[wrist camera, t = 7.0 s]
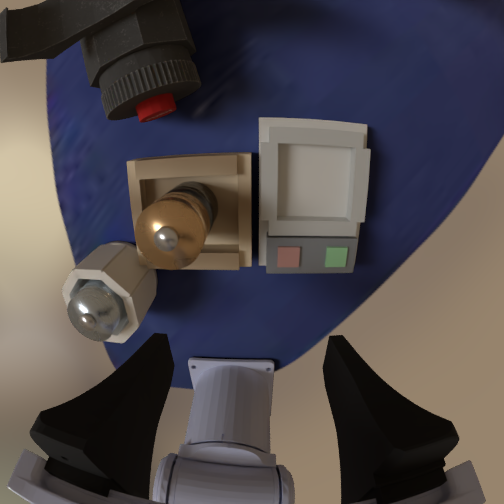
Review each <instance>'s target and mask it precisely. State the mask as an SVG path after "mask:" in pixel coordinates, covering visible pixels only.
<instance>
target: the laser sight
mask: <svg viewBox="0 0 504 504" xmlns="http://www.w3.org/2000/svg"><path fill="white" fill-rule="evenodd" d="M79 40H80V43H81V48H82V53H83V58H84V62H85V67H86V71H87V75H88V79H89V83H90V86H91V87H96V88H100V89H101V93H102V96H101V100H102V103H103V107H104V110H105V114H106V117H107V119H108V120H113V121H114V120H120V119H121V120H122V119H126V118H130V117H134V116H137V115H138V117H139V120H140V122H148V121H152V120H155V119H158V118H160V117H163V116H165V115H168V114H170V113H172V112H174V111H175V110H176V105H175V101H178V100H180V99H182V98H184V97H186V96H188V95H190V94H191V93H193V92H195V91H196V90H198V89H199V87H200V86H201V81H200V78H199V75H198V72H197V69H196V66H195V64H194V63H193V62H192V60H191V57H190V56H191V55H193V54H194V53H195V52H196V48H195V45H194V42H193V39H192V36H191V33H190V30H189V27H188V24H187V21H186V18H185V15H184V12H183V9H182V6H181V3H180V0H46V1H44V2H42V3H40V4H37V5H34V6H30V7H26V8H23V9H16V10H8V8H5V9H4V10H3V11H2V12H1V13H0V59H1V63H4V62H13V61H21V60H34V59H54V58H55V57H56V56H58V55H59V54H61V53H62V52H63V51H65V50H66V49H67V48H69V47H70V46H72V45H73V44H75V43H76V42H78V41H79Z"/></svg>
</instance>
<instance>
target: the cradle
mask: <svg viewBox="0 0 504 504" xmlns="http://www.w3.org/2000/svg"><path fill="white" fill-rule="evenodd" d="M366 146H367V125H365V124H357V123H349V122H339V121H328V120H314V119H297V118H259V265H266V273H353V268H354V265H355V258H356V251H357V244H358V237H359V229H360V222H364V221H365V212H366V203H367V192H368V181H369V167H370V151H371V149H367V148H366Z"/></svg>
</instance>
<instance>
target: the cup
mask: <svg viewBox="0 0 504 504" xmlns="http://www.w3.org/2000/svg"><path fill="white" fill-rule="evenodd" d="M90 279H95V280H102V281H103V282H104V283H105V284H106V285H107V286H108V287H110V288H111V289H112V290H113V291H114V292H115V293H116V294H118V295H119V296H120V297H121V298H122V299H123V301H124V305H125V309H126V312H125V314H124V316H123V317H122V319H121V320H120V322H119V324H118V325H117V327H116V328H115V330H114V332H113V333H112V335H111V337H110V338H109V339H107V340H105V341H109V342H116V343H124V342H125V341H126V340H127V339H128V338H129V337H130V336H131V335H132V334H133V333H134V332H135V331H136V330H137V329H138V328H139V326H140V324H141V322H142V320H143V318H144V316H145V315H146V313H147V311H148V309H149V307H150V305H151V304H152V302H153V300H154V298H155V296H156V294H157V293H156V289H157V285H158V278H157V272H156V269H148V268H147V265H140V263H139V257H138V251H137V246H135V245H133V244H131V243H128V242H124V241H112V242H109V243H107V244H105V245H100V246H99V247H98V248H96V249H95V250H94V251H93V252H92V253H91V254H89V255H88V256H87V257H86V258H85V259H84V260H83V261H81V262H80V263H79V264H78V265H77V266H76V267H75V268H74V269H73V270H72V271H71V273H70V275H69V277H68V278H67V281H66V282H65V284H64V286H63V288H62V294H63V297H64V300H65V303H66V306H67V307H68V303H69V302H70V300H71V299H72V298H73V297H74V296H75V295H76V294H77V293H78V291H79V290H80V289H81V288H82V287H83V286H84V285H85V284H86V283H87V282H88V281H89V280H90Z"/></svg>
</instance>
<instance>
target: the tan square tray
mask: <svg viewBox="0 0 504 504" xmlns="http://www.w3.org/2000/svg"><path fill="white" fill-rule="evenodd" d="M127 171H128V182H129V192H130V201H131V210H132V218H133V225H134V232H135V225H136V222H137V219H138V217H139V215H140V214H141V213H142V212H143V210H144V209H146V208H147V207H148V206H150V205H151V204H152V203H154V202H155V201H156V200H158V199H159V198H160V197H162V196H163V195H165V194H166V193H167V192H169V191H170V190H171V189H173V188H174V187H176V186H177V185H179V184H181V183H183V182H187V181H195V182H199V183H202V184H204V185H206V186H207V187H208V188H209V189H211V191H212V192H213V193H214V195H215V197H216V199H217V202H218V214H217V217H216V219H215V222H214V224H213V226H212V228H211V230H210V232H209V235H208V237H207V239H206V241H205V243H204V245H203V248H202V250H201V252H200V254H199V256H198V257H197V259H196V260H195V261H194V262H193V263H192V264H190V265H189V266H187V267H185V268H182V269H197V270H239V267H251V266H252V168H251V152H237V153H204V154H186V155H171V156H159V157H148V158H138V159H134V160H130V161H127ZM136 245H137V243H136ZM137 251H138V257H139V263H140V265H147V268H148V269H163V268H160V267H157V266H155V265H153V264H152V263H150V262H149V261H148V260H147V259H146V258H145V257H144V256H143V255H142V253H141V252H140V250H139V248H138V246H137Z"/></svg>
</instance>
